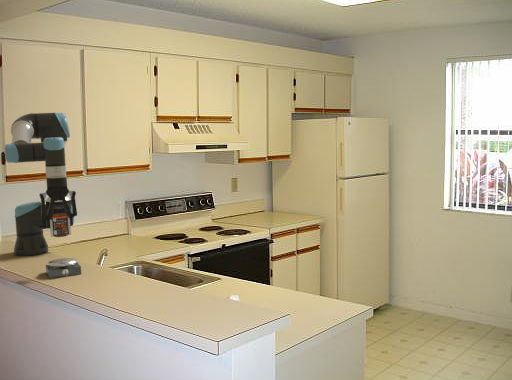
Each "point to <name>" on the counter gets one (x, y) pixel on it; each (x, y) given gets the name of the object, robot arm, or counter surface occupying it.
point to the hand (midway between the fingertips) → (60, 235)
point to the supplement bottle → (60, 222)
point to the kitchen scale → (63, 267)
